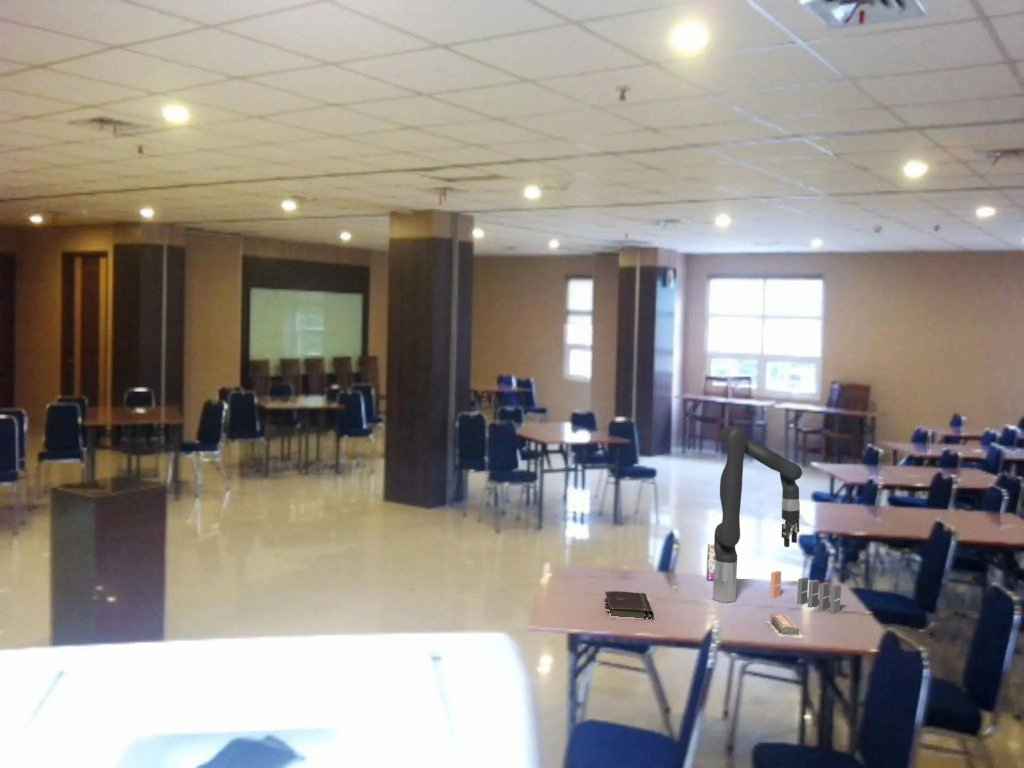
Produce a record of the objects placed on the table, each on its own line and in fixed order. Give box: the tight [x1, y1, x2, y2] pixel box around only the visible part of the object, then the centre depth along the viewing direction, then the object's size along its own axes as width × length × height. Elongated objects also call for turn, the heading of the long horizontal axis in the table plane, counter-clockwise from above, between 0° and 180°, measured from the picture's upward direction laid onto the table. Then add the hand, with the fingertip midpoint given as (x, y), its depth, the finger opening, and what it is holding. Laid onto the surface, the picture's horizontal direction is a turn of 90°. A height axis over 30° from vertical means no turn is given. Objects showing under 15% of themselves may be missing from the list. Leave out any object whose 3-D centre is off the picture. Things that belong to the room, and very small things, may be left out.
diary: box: [604, 590, 655, 620], centre depth 392 cm, size 19×25×5 cm
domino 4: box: [818, 581, 831, 612], centre depth 399 cm, size 2×5×11 cm, turn 134°
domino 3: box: [807, 579, 820, 609], centre depth 403 cm, size 2×5×11 cm, turn 134°
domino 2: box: [796, 576, 809, 606], centre depth 406 cm, size 2×5×11 cm, turn 134°
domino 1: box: [769, 570, 782, 599], centre depth 416 cm, size 2×5×11 cm, turn 134°
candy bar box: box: [705, 543, 715, 582], centre depth 441 cm, size 11×5×16 cm, turn 84°
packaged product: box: [765, 613, 804, 639], centre depth 370 cm, size 18×5×10 cm
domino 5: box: [829, 584, 842, 614], centre depth 396 cm, size 2×5×11 cm, turn 133°
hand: (790, 544), depth 415 cm, fingers open, 8 cm apart
